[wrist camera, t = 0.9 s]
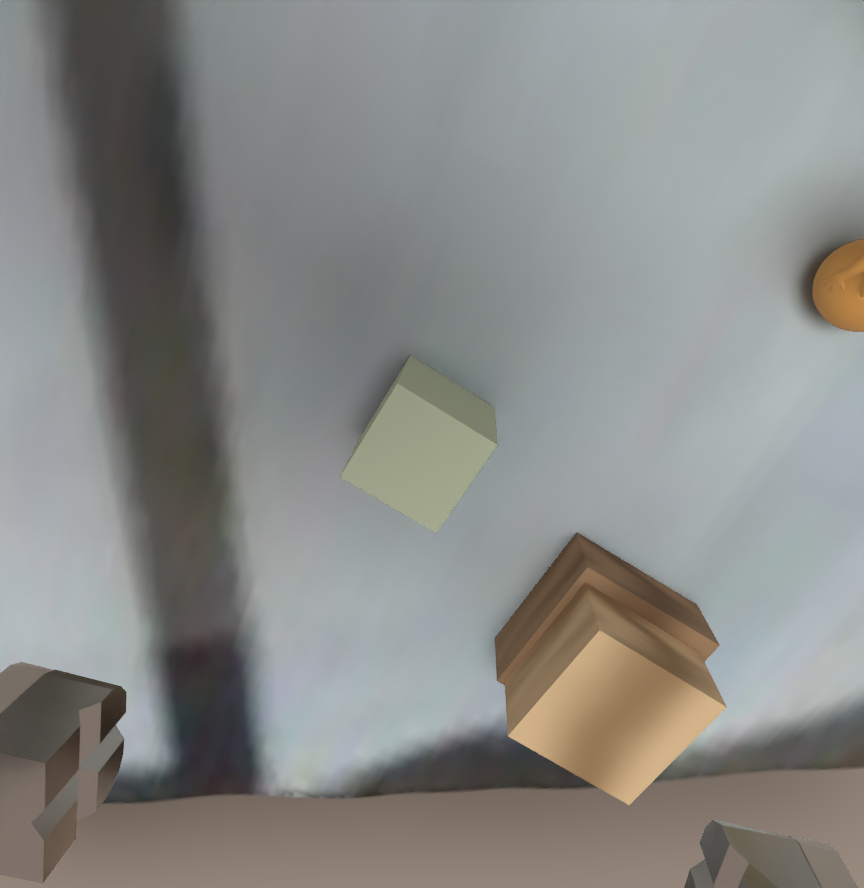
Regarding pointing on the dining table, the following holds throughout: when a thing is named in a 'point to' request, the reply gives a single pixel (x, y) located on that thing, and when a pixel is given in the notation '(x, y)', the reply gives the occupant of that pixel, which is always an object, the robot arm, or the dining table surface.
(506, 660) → the tower base
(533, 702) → the tower top
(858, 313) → the figurine
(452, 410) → the green block
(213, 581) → the dining table surface
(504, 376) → the dining table surface
